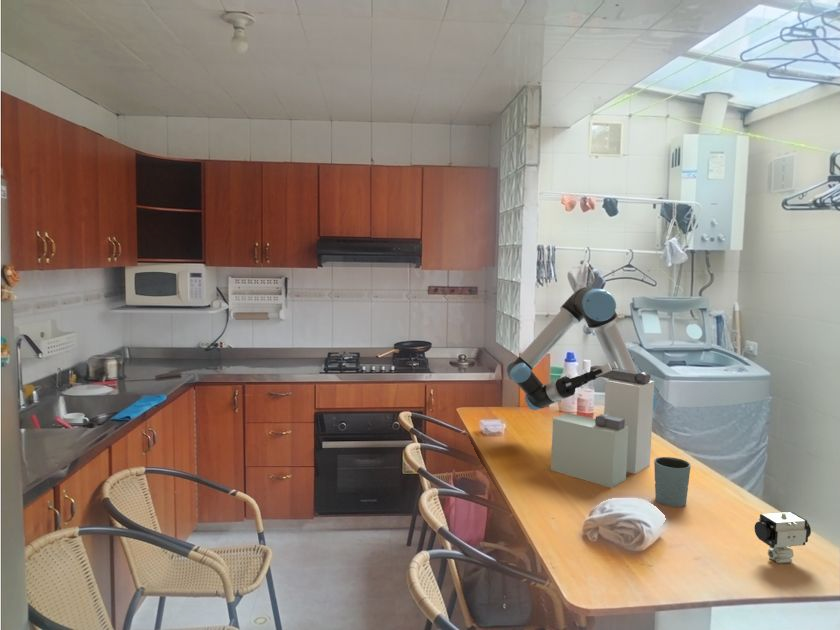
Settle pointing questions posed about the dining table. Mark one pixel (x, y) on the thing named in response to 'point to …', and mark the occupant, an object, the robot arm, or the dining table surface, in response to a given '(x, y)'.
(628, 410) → the taupe rectangular block
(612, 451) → the grey-green rectangular block
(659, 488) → the blue-grey cup
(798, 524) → the pneumatic valve
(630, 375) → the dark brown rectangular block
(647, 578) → the dining table surface
